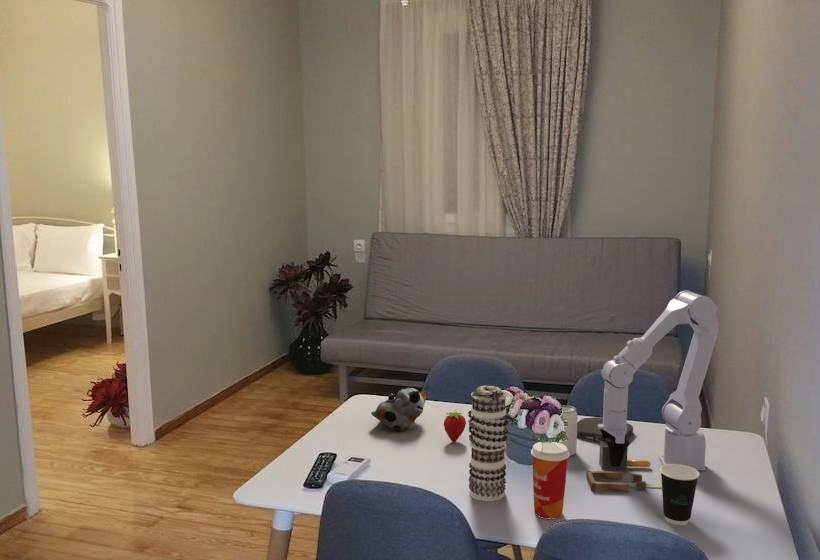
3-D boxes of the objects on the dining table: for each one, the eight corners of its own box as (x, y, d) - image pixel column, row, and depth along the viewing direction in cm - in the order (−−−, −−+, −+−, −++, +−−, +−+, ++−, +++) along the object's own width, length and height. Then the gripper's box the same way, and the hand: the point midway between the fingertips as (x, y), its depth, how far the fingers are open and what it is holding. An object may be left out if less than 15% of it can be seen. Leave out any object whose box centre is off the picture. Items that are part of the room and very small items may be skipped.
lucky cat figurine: (387, 414, 224) (409, 375, 223) (417, 437, 219) (440, 397, 217) (363, 414, 211) (386, 373, 210) (394, 438, 205) (418, 395, 204)
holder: (656, 480, 177) (656, 472, 177) (664, 493, 170) (665, 485, 169) (586, 477, 178) (586, 470, 178) (591, 490, 171) (591, 483, 171)
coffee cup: (525, 505, 163) (526, 440, 161) (561, 504, 164) (563, 439, 162) (534, 523, 155) (536, 455, 153) (572, 521, 156) (575, 454, 154)
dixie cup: (676, 531, 151) (679, 481, 150) (649, 515, 159) (651, 467, 157) (704, 524, 155) (708, 474, 153) (677, 508, 162) (679, 461, 160)
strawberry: (469, 439, 204) (469, 404, 202) (460, 448, 197) (460, 412, 196) (449, 436, 206) (449, 401, 205) (439, 445, 199) (439, 409, 198)
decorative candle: (496, 505, 163) (499, 397, 160) (460, 496, 168) (461, 390, 164) (513, 490, 171) (516, 386, 167) (478, 481, 176) (479, 380, 172)
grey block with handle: (648, 465, 186) (649, 442, 185) (652, 471, 182) (653, 448, 181) (599, 463, 187) (600, 441, 186) (602, 470, 183) (603, 447, 182)
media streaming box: (636, 432, 211) (636, 422, 210) (621, 448, 198) (621, 437, 198) (586, 423, 218) (587, 413, 218) (569, 437, 206) (569, 427, 206)
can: (576, 457, 191) (578, 413, 189) (551, 455, 192) (552, 411, 190) (576, 448, 197) (577, 405, 195) (551, 446, 198) (552, 404, 197)
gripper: (593, 399, 190) (591, 449, 192) (604, 417, 176) (602, 471, 178) (621, 400, 190) (619, 450, 191) (634, 418, 175) (631, 472, 177)
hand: (612, 460), depth 185 cm, fingers open, 6 cm apart
